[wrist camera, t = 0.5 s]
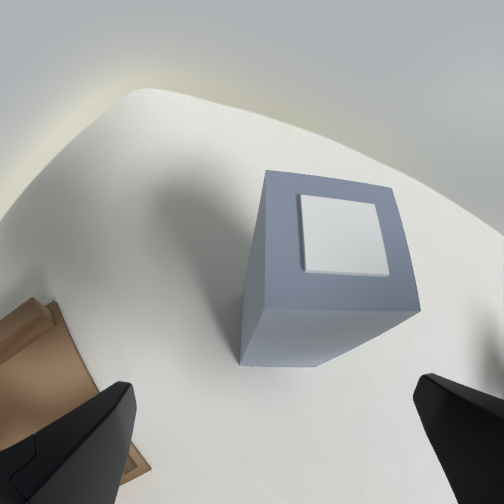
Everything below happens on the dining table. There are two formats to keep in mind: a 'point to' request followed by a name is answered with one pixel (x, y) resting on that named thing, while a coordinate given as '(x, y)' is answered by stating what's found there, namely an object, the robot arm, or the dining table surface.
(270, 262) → the grey tall block
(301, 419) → the dining table surface
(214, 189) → the dining table surface
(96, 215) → the dining table surface
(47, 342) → the pocket
